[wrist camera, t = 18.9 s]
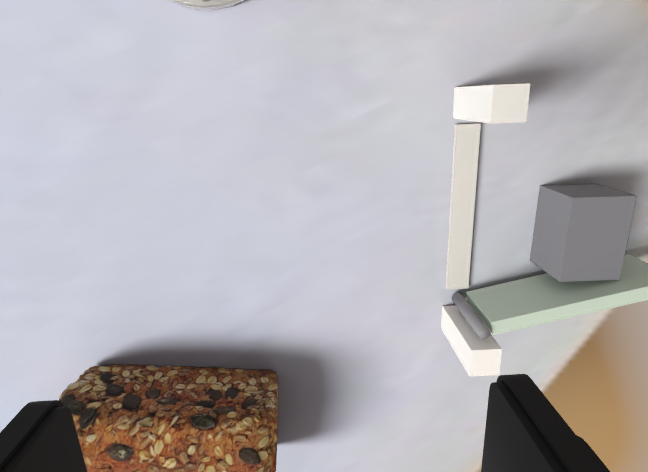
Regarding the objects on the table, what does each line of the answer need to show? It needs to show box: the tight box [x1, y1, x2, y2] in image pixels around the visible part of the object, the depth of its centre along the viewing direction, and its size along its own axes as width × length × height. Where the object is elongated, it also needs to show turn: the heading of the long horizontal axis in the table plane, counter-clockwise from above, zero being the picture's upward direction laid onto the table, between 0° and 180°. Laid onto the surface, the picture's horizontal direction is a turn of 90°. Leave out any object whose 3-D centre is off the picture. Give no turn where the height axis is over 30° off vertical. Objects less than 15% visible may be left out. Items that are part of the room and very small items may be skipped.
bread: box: [59, 365, 278, 472], centre depth 38 cm, size 19×11×10 cm, turn 85°
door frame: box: [441, 83, 530, 376], centre depth 34 cm, size 22×2×8 cm, turn 2°
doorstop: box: [530, 184, 637, 282], centre depth 36 cm, size 7×5×5 cm
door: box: [452, 254, 648, 339], centre depth 37 cm, size 16×1×6 cm, turn 103°
